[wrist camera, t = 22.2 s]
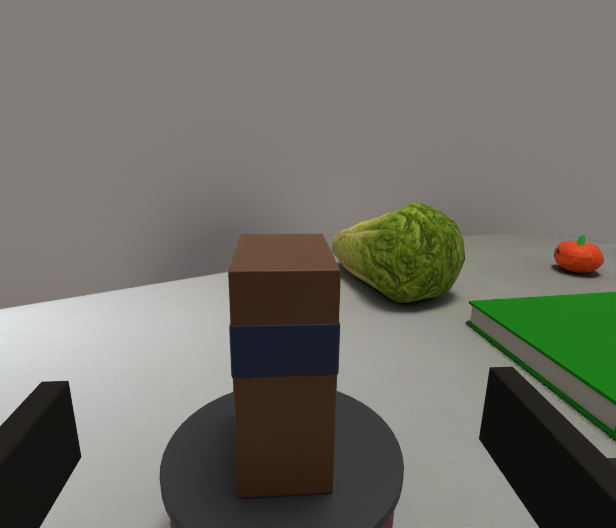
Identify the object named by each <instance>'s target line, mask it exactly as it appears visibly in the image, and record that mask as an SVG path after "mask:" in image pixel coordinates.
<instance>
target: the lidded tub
mask: <svg viewBox="0 0 616 528" xmlns="http://www.w3.org/2000/svg"><path fill="white" fill-rule="evenodd" d="M403 472H404V464H403V456H402V452H401V449H400V446H399V443H398V441H397V439H396V437H395V435H394V433H393V432H392V430H391V429H390V427H389V426H388V425H387V423H386V422H385V421H384V420H383V419H382V418H381V417H380V416H379V415H378V414H377V413H375V412H374V411H373V410H372V409H371V408H369V407H368V406H366V405H365V404H363V403H362V402H360V401H358V400H356V399H354V398H352V397H350V396H348V395H345V394H343V393H341V392H337V391H336V417H335V445H334V473H333V492H332V493H327V494H308V495H290V496H271V497H252V498H239V497H238V483H237V460H236V437H235V415H234V392H232V393H230V394H227V395H224V396H222V397H220V398H218V399H216V400H214V401H212V402H210V403H208V404H207V405H205V406H203V407H202V408H200V409H199V410H197V411H196V412H195V413H194V414H192V415H191V416H190V417H189V418H188V419H187V420H186V421H185V422H183V423H182V425H181V426H180V427H179V428H178V429H177V431H176V432H175V433H174V435H173V436H172V438H171V439H170V441H169V442H168V445H167V447H166V449H165V452H164V454H163V458H162V462H161V466H160V486H161V494H162V500H163V503H164V506H165V509H166V512H167V514H168V515H169V517H170V520H171V528H392V527H393V516H394V510H395V507H396V505H397V503H398V501H399V498H400V494H401V490H402V485H403Z"/></svg>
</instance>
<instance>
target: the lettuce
mask: <svg viewBox="0 0 616 528" xmlns="http://www.w3.org/2000/svg"><path fill="white" fill-rule="evenodd" d="M332 251H333V253H334V255H335V256H336V257H337V258H338V259H339V261H340V262H341V263H342V264H343V266H344V267H345V268H346V269H347V270H348V271H349V272H351V273H352V274H353V275H355V276H356V277H358V278H360V279H361V280H363V281H364V282H366V283H368V284H369V285H371V286H372V287H374V288H376V289H377V290H379V291H380V292H381V293H383V294H384V295H386V296H387V297H388V298H390V299H391V300H393V301H394V302H396V303H410V302H414V301H418V300H421V299H426V298H433V297H439V296H440V295H442V294H443V293H445V292H446V291H448V290H449V289H451V287H452V286H453V284H454V282H455V281H456V279H457V277H458V276H459V273H460V271H461V268H462V266H463V263H464V261H465V252H464V242H463V238H462V236H461V233H460V231H459V229H458V226H457V224H456V223H455V222H454V221H453V220H451V219H450V218H449V217H448V216H446V215H445V214H443V213H442V212H440V211H438V210H437V209H435V208H433V207H431V206H427V205H424V204H421V203H417V202H414V203H412V204H409V205H407V206H404V207H402V208H400V209H398V210H396V211H393V212H390V213H387V214H385V215H383V216H381V217H378V218H376V219H371V220H366V221H363V222H361V223H359V224H357V225H355V226H353V227H350V228H347V229H344V230H342V231H339V232H338V233H337V235H336V236H335V237H333V239H332Z"/></svg>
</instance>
